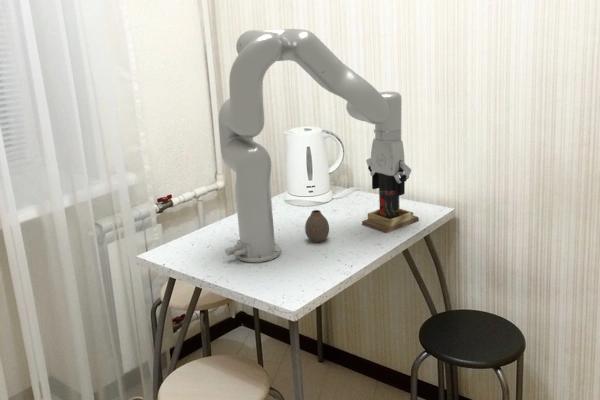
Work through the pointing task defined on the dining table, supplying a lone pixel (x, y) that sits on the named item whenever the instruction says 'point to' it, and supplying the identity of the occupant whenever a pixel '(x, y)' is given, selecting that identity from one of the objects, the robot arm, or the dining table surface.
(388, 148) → the robot arm
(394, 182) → the deodorant
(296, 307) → the dining table surface
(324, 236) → the vase
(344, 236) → the dining table surface
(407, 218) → the holder board
